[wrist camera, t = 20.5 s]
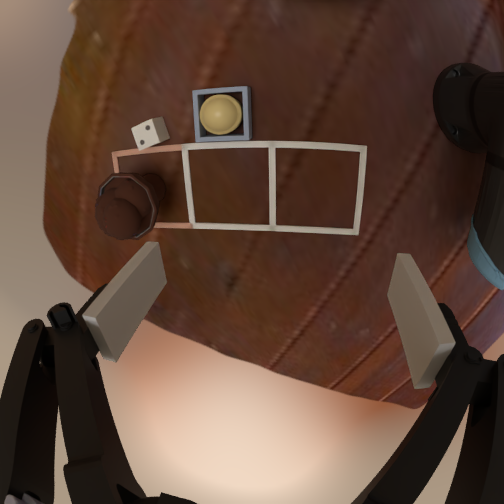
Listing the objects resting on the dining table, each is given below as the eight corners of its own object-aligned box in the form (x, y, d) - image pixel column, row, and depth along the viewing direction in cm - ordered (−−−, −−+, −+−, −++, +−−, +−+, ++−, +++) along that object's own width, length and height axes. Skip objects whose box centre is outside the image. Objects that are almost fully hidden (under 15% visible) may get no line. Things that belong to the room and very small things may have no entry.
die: (143, 125, 43) (130, 128, 40) (162, 116, 42) (151, 118, 39) (150, 146, 45) (138, 151, 42) (170, 138, 44) (159, 142, 41)
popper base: (199, 91, 40) (192, 90, 37) (250, 87, 38) (247, 86, 36) (202, 139, 43) (195, 142, 41) (252, 137, 42) (249, 140, 40)
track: (112, 151, 46) (111, 152, 46) (366, 145, 40) (367, 146, 40) (125, 226, 54) (125, 227, 53) (358, 234, 47) (358, 235, 47)
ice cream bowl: (167, 149, 45) (117, 173, 32) (187, 210, 50) (149, 252, 37) (118, 168, 48) (65, 196, 35) (139, 222, 53) (95, 263, 40)
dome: (204, 96, 40) (193, 96, 35) (243, 93, 39) (236, 92, 34) (207, 133, 43) (196, 137, 38) (245, 131, 42) (238, 135, 37)
